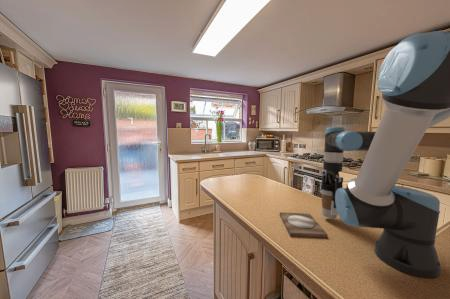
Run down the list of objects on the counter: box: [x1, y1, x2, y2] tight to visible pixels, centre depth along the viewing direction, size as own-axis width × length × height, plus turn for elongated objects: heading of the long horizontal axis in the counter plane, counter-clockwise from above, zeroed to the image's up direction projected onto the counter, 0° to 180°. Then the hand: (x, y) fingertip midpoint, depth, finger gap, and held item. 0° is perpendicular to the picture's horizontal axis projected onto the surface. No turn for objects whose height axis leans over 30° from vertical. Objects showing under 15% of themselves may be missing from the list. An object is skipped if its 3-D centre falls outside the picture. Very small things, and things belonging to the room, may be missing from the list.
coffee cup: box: [320, 182, 338, 219], centre depth 87 cm, size 8×8×15 cm
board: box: [279, 211, 328, 239], centre depth 82 cm, size 18×14×2 cm
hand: (329, 210), depth 87 cm, fingers closed on coffee cup, 8 cm apart
